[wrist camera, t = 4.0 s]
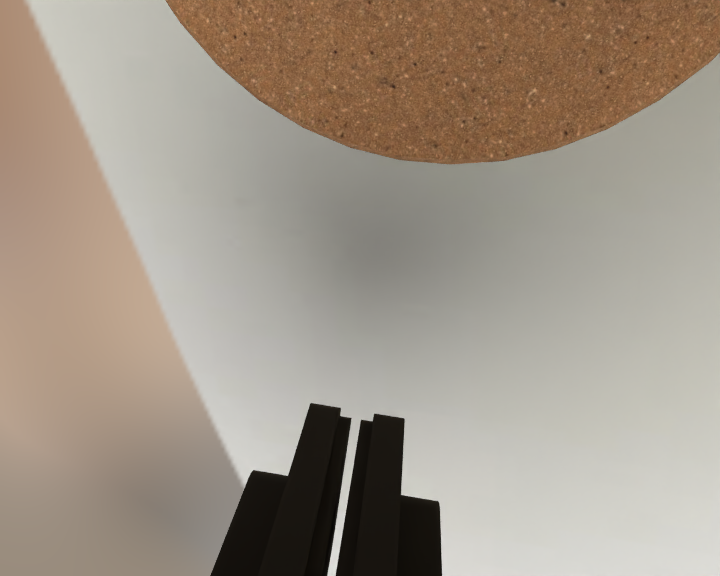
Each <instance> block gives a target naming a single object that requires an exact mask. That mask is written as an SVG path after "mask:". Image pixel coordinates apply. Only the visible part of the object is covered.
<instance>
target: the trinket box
mask: <svg viewBox="0 0 720 576" xmlns="http://www.w3.org/2000/svg"><path fill="white" fill-rule="evenodd" d="M166 2H167V3H168V5H169V6H170V8H171V9H172V11H173V12H174V14H175V15H176V17H177V18H178V20H179V21H180V23H181V24H182V25H183V26H184V27H185V29H186V30H187V31H188V32H189V33H190V34H191V35H192V36H193V38H194V39H195V40H196V41H197V42H198V43H199V44H200V46H201V47H202V48H203V49H204V50H205V51H206V52H207V54H208V55H209V56H210V57H211V58H212V59H213V60H214V62H215V63H216V64H217V65H218V66H219V67H221V68H222V69H223V70H224V71H225V72H226V73H228V74H229V75H230V76H231V77H232V78H233V79H235V80H236V81H237V82H238V83H239V84H241V85H242V86H243V87H244V88H245V89H246V90H248V91H249V92H250V93H251V94H252V95H253V96H255V97H256V98H257V99H258V100H260V101H261V102H263V103H264V104H266V105H268V106H269V107H271V108H272V109H274V110H276V111H277V112H279V113H280V114H282V115H284V116H285V117H287V118H289V119H290V120H292V121H293V122H295V123H297V124H298V125H300V126H301V127H303V128H305V129H308V130H310V131H312V132H315V133H317V134H319V135H322V136H324V137H327V138H329V139H331V140H334V141H336V142H338V143H341V144H343V145H345V146H348V147H350V148H354V149H358V150H362V151H366V152H370V153H374V154H378V155H382V156H386V157H390V158H394V159H398V160H406V161H418V162H429V163H441V164H463V163H478V162H493V161H504V160H509V159H513V158H517V157H522V156H526V155H531V154H535V153H540V152H544V151H549V150H553V149H557V148H559V147H562V146H564V145H567V144H570V143H572V142H575V141H577V140H580V139H583V138H585V137H588V136H590V135H593V134H596V133H598V132H601V131H604V130H606V129H608V128H610V127H612V126H614V125H616V124H617V123H619V122H621V121H623V120H625V119H626V118H628V117H630V116H632V115H634V114H635V113H637V112H639V111H641V110H642V109H644V108H646V107H648V106H650V105H651V104H653V103H655V102H657V101H659V100H660V99H661V98H663V97H664V96H665V95H667V94H668V93H669V92H671V91H672V90H673V89H675V88H676V87H677V86H679V85H680V84H681V83H683V82H684V81H685V80H687V79H688V78H689V77H691V76H692V75H693V74H695V73H696V72H697V71H699V70H700V69H701V68H703V67H704V66H705V65H707V64H708V63H709V62H711V61H712V60H713V59H714V58H715V57H716V56H717V55H718V54H719V53H720V0H166Z"/></svg>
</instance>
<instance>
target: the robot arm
mask: <svg viewBox="0 0 720 576" xmlns="http://www.w3.org/2000/svg"><path fill="white" fill-rule="evenodd" d="M340 412H341V408H338V407H331V406H325V405H319V404H313V403H311V404H310V406H309V410H308V413H307V416H306V419H305V423H304V426H303V429H302V433H301V436H300V439H299V442H298V446H297V449H296V452H295V455H294V459H293V462H292V465H291V469H290V472H289V475H288V476H285V475H279V474H273V473H267V472H261V471H255V470H253V471H252V472H251V474H250V476H249V478H248V481H247V484H246V486H245V489H244V491H243V494H242V496H241V499H240V502H239V504H238V507H237V509H236V512H235V514H234V517H233V519H232V522H231V524H230V527H229V530H228V532H227V535H226V537H225V540H224V543H223V545H222V547H221V550H220V553H219V555H218V558H217V560H216V563H215V565H214V568H213V571H212V573H211V576H327V573H328V567H329V562H330V556H331V550H332V544H333V538H334V531H335V525H336V518H337V511H338V505H339V498H340V491H341V485H342V478H343V471H344V465H345V458H346V451H347V445H348V438H349V431H350V425H351V418H347V417H341V416H340ZM404 420H405V419H404V418H398V417H392V416H386V415H380V414H374V418H373V422H372V421H366V420H361V424H360V430H359V436H358V442H357V448H356V454H355V460H354V467H353V473H352V479H351V485H350V491H349V497H348V504H347V510H346V516H345V522H344V528H343V534H342V540H341V547H340V553H339V559H338V565H337V571H336V576H442V561H441V529H440V506H439V502H438V501H433V500H427V499H421V498H415V497H409V496H403V495H401V480H402V461H403V442H404Z"/></svg>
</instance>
